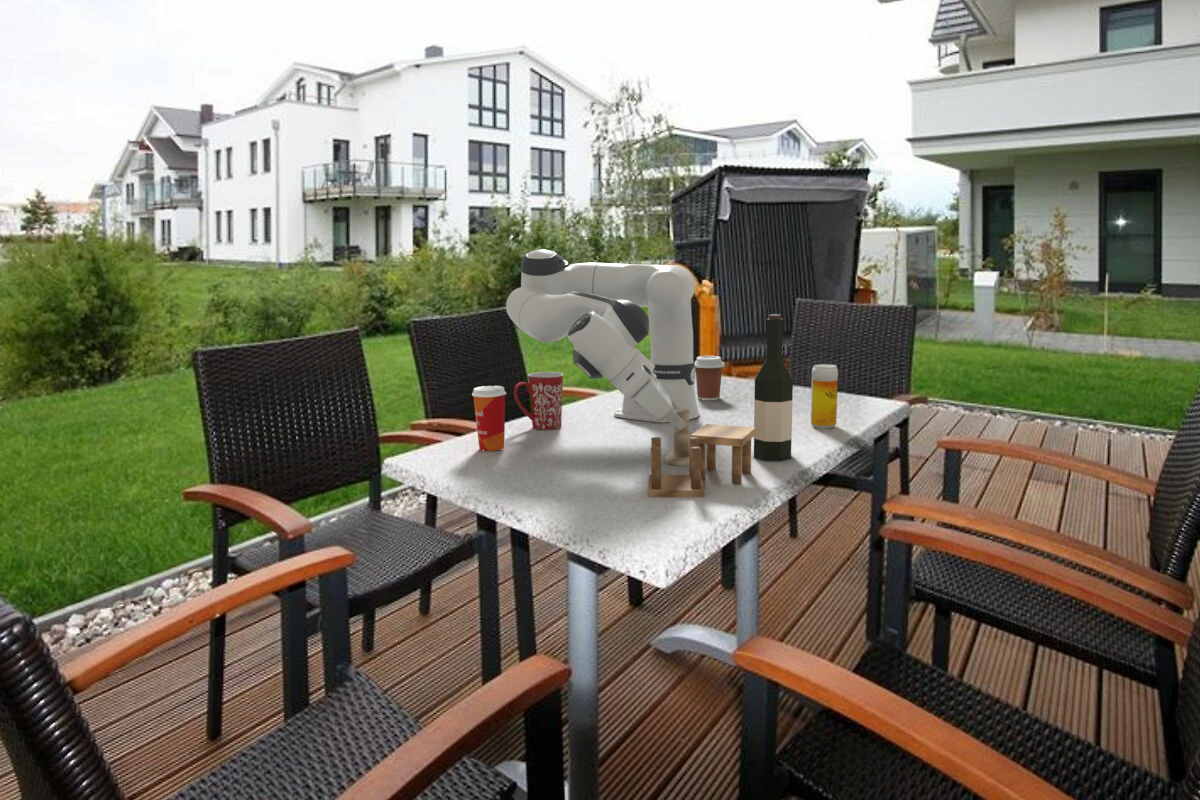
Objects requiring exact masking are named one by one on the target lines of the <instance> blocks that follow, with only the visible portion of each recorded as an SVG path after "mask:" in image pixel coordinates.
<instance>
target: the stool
mask: <svg viewBox="0 0 1200 800" xmlns="http://www.w3.org/2000/svg"><path fill="white" fill-rule="evenodd" d="M755 430H756V428H755V427H754V426H743V425H742V426H740V425H725V424H714V423H713V424H712V423H706V424H705V425H703V426H702V427H700V428H699V429H697V430H696V431H694V432H693V433H691V434H690V438H691V437H698V438H699V447H700V448H701V474H702V481H705V480H706V470H707V471H711V472H712V471H716V466H717V465H716V463H717V460H716V459H717V458H716V457H717V454H716V453H717V452H716V451H717V447H716V445H717V446H725V447H727V446H728V447H731V484H733V485H740V484H742V474H743V475H750V474H751V473H752V439H754V436H755Z"/></svg>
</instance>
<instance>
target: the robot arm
mask: <svg viewBox="0 0 1200 800" xmlns="http://www.w3.org/2000/svg"><path fill="white" fill-rule="evenodd" d="M520 271H521V279H520V282H521V283H520V287H518V288H515V289H514V290H513V291H512V292H511V293H509V295H508V297H507V300H506V304H505V308H506V313H507V315H508V317H509V319H510V320H511V321H512V322H513V324H514V325H515V326H516V327H517V328H518V329H520V330H521V331H522V332H523V333H525V334H526V335H528V337H531V338H532V339H534V340H537V341H539V342H543V343H554V342H557V341H560V340H562V339H563V338H565V337H566V336H567V338H568V340H569V341H570V343H571V344H572V346H574V347H573V349H572V362H573V364H574V365H576V367H578V368H579V369H580V370H582V372H583V373H584V374H585V375H586V376H587V377H588V378H589V379H590V380H591V379H593V380H594V379H595V380H597V379H604V378H606V380H608V382H609V383H610V384H611V385H612V386H614V387H615V389H616V390H618V391H619V393H621V394H622V395H623V397H622V399H623V400H622V405H621V406H620V407H618V408H617V409H616V410H614V412H613V416H614V417H615V418H623V419H630V420H638V421H645V422H654V423H660V424H661V423H662V424H663V423H671V424H673V426H674V425H675V426H676V427H677V428H678V429H680V430H681V429H683V428H684V427H685V426H686V422H685V421H684V420H683V419H682V418H681V417H679V416H678V415H677V414H676V413H675V411H674V410H676V409H687V410H689V420H692V419H696V418H697V417H699V416H700V411H699V408H698V404H697V399H696V391H695V383H696V370H695V363H694V330H693V329H694V328H693V316H692V298H693V296H694V294H695V291H696V283H695V279H694V276H693V275H692V273H691V272H690V271H689V270H688V269H687V268H685V267H683V266H680V265H672V264H669V265H668V264H639V263H636V264H635V263H634V264H633V263H630V264H629V263H614V262H613V263H611V262H610V263H609V262H580V263H579V262H578V263H571V264H569V262H568V261H567V260H565V259H563V257H562V256H561V255H560V254H559V253H557V252H556V251H554V250H549V249H542V248H541V249H536V250H532V251H529V252H526V254H525V255H523V257H522V259H521V262H520ZM643 308H647V313H646V311H645V310H644V309H643ZM649 332H650V334H649ZM647 336H650V337H649V338H650V341H649V342H650V359H649V358H648V357H646V355H645V354H643V353H642V352H641V351H640V350H639V348H636V346H637V345H638V344H640V343H641V342H642V341H643V340H644V339H645V338H647Z"/></svg>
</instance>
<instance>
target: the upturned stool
mask: <svg viewBox="0 0 1200 800" xmlns="http://www.w3.org/2000/svg"><path fill="white" fill-rule="evenodd" d="M650 439H651V441H650V442H651V447H650V474H649V475H648V476H649V478H648V491H647V492H648V496H647V497H648V498H705V488H704V482H703V481H704V480H702V474H701V448H700V447H699V438H698V437H691V436H690V437H689V452H690V466H689V474H662V438H661V437H657V436H656V437H651V438H650Z"/></svg>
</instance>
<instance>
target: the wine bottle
mask: <svg viewBox="0 0 1200 800" xmlns="http://www.w3.org/2000/svg"><path fill="white" fill-rule="evenodd" d="M781 317H782V316H781V314H779V313H777V314H776V313H773V314H769V315H768V318H766V357H765V358H766V359H765V360H764V362H763V363H762V365H761V367H760V369H759V370H758V372H757V373H756V375H755V377H754V403H753V404H754V408H753V409H754V410H753V411H754V412H753V413H754V414H753V415H754V417H753V419H754V420H753V424H754V425H753V427H755V428H756V430H755V436H754V437H753V458H754V459H757V460H761V461H764V462H783V461H787V460H791V459H792V437H793V436H792V435H793V434H792V433H793V432H792V430H793V392H794V391H793V390H794V388H793V387H794V378H793V376H792V374H791V373H790V371H789V369H788V368H787V365H786V363H785V362H784V360H783V325H784V324H783V321H784V319H783V318H781Z"/></svg>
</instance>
